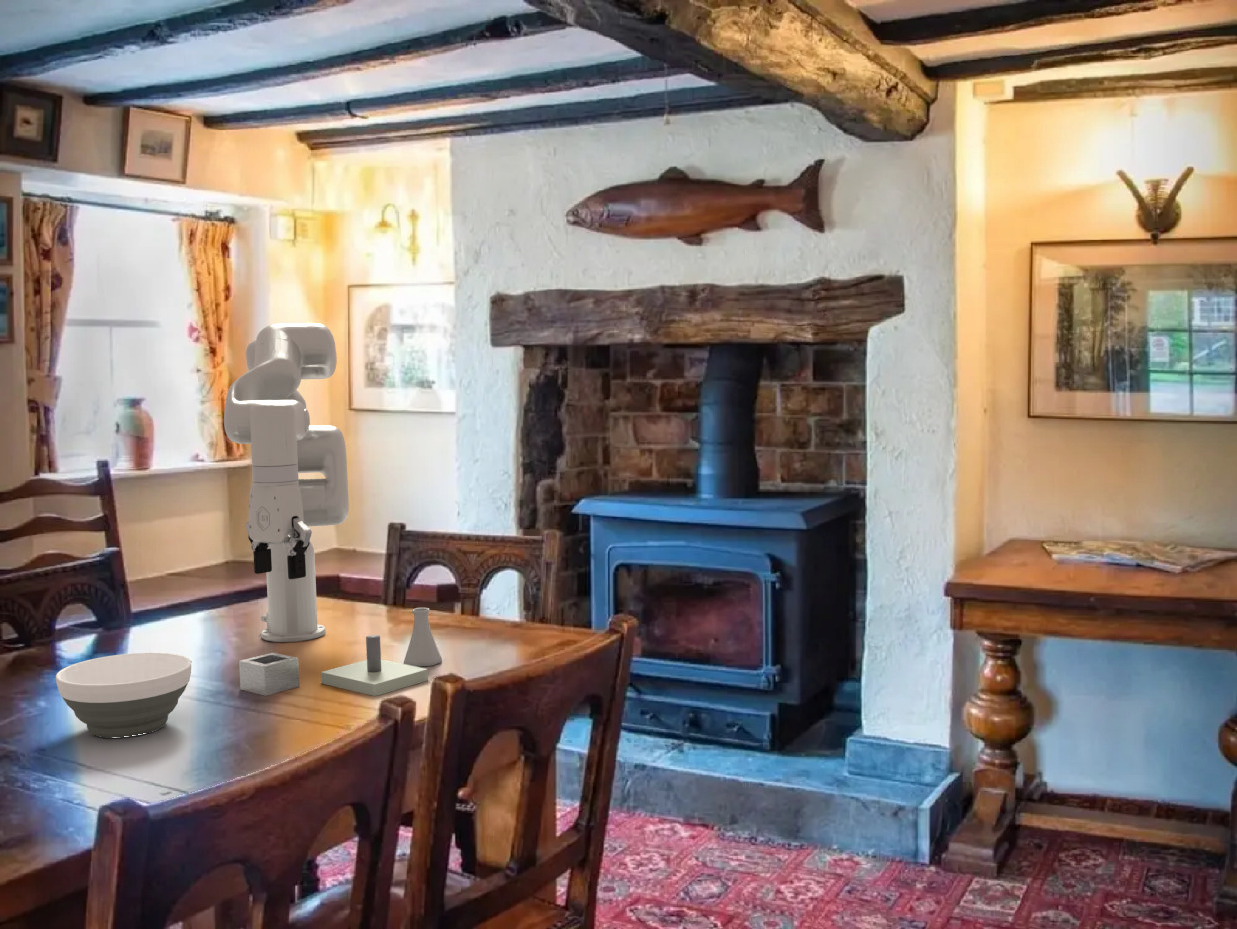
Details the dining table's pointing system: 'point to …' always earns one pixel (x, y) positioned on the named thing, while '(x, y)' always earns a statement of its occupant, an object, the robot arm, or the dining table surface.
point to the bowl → (124, 691)
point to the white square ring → (269, 673)
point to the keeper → (374, 673)
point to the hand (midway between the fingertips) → (280, 575)
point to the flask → (422, 642)
